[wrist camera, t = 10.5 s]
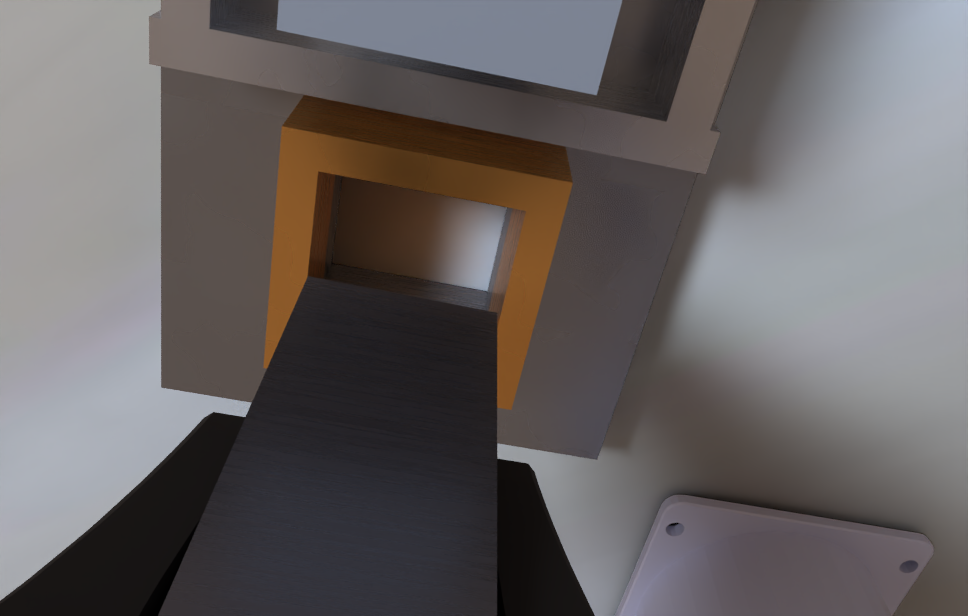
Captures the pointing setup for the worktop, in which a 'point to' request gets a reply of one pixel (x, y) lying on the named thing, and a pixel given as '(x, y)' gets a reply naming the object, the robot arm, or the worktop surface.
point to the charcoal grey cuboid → (358, 469)
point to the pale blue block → (472, 34)
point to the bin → (435, 169)
